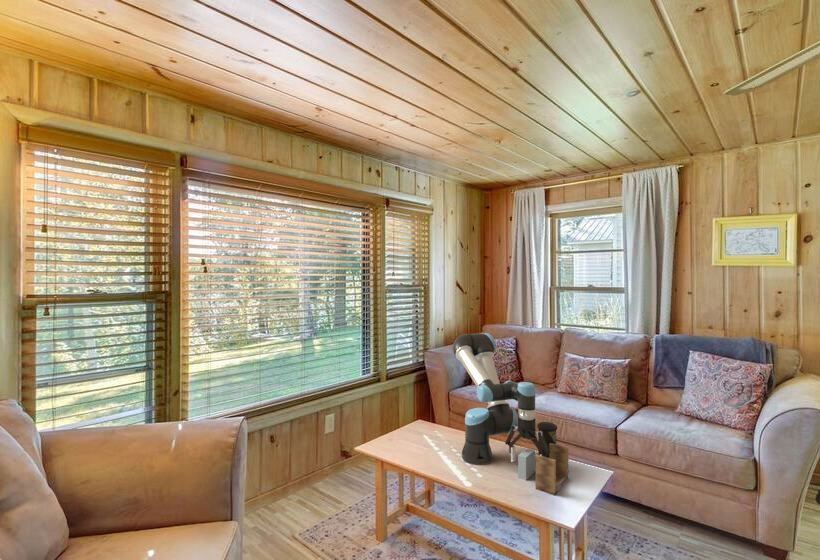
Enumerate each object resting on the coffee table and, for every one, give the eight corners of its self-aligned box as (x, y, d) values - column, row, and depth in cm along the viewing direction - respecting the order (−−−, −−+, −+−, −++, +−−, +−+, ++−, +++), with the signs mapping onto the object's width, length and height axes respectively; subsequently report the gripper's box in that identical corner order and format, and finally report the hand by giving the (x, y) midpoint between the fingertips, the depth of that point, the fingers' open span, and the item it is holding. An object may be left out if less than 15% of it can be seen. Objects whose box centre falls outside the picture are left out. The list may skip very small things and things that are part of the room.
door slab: (517, 477, 181) (517, 455, 181) (526, 469, 189) (526, 447, 189) (525, 480, 179) (525, 457, 179) (534, 471, 187) (534, 450, 186)
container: (558, 470, 187) (558, 427, 187) (538, 469, 189) (538, 426, 189) (555, 462, 196) (555, 420, 196) (536, 460, 198) (536, 419, 197)
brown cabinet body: (535, 488, 172) (535, 455, 171) (549, 473, 185) (549, 442, 185) (555, 495, 166) (555, 461, 166) (569, 479, 179) (569, 447, 179)
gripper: (497, 414, 189) (498, 460, 188) (551, 425, 173) (551, 476, 173) (504, 410, 194) (505, 455, 194) (557, 421, 179) (558, 469, 178)
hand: (527, 465), depth 183 cm, fingers open, 13 cm apart
